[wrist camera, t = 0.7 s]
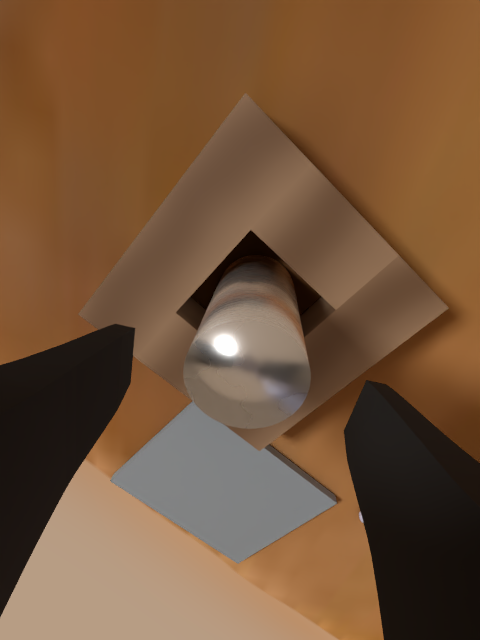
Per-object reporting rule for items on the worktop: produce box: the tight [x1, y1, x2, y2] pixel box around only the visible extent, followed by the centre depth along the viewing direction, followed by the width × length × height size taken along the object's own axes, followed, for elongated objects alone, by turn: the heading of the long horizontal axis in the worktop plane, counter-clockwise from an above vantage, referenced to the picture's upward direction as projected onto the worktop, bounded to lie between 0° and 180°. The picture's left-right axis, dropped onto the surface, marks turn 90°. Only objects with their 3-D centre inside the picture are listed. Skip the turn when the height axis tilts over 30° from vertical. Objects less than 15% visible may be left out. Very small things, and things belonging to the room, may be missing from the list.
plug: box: [183, 255, 311, 429], centre depth 14 cm, size 4×4×8 cm
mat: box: [110, 401, 337, 563], centre depth 24 cm, size 12×10×1 cm
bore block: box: [78, 93, 449, 451], centre depth 17 cm, size 12×12×2 cm
